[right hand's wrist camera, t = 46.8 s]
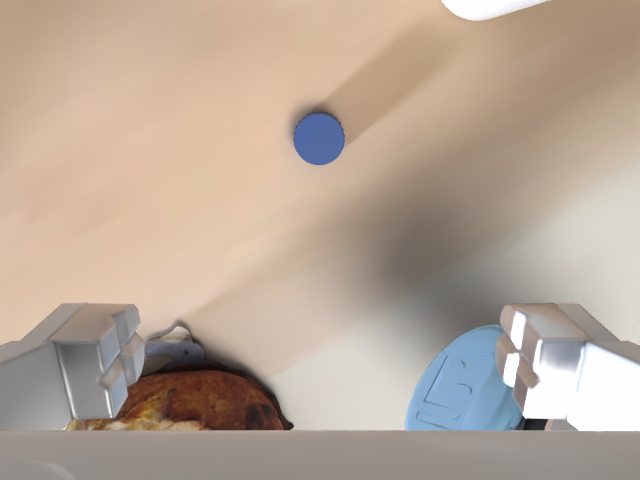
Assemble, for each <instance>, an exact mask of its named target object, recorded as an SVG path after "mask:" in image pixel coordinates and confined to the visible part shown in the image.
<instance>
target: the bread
mask: <svg viewBox="0 0 640 480" xmlns="http://www.w3.org/2000/svg"><path fill="white" fill-rule="evenodd" d="M144 349H145V352H146V355H147V357H151V356H152V355H159V356H162V354H169V355H172V357H173V358H174V362H172V363H168V364H166V365H165V366H164V367H162V368H161V369H159V370H157V371H156V372H153V373H151V374H148V375H145V376H139V378H138V380H137V382H136V383H134V384H132V385H131V386H129V387H127V393H128V397H127V399H126V400H125V402H124V404H123V405H122V407H121V409H120V410H119V412H118V414H117V415H116V417H115V418H104V419H72V422H71V423H69V425H68V427H67V429H66V430H290V429H292V428H293V427H294V425H292V424H289V423H287V422H286V420H285V419H284V418H283V416H282V414H281V410H280V406H279V403H278V401H277V399H276V398H275V397H274V396H273V395H272V394H271V393H269V392H268V391H267V390H265V389H264V388H263V387H261V386H260V385H259V384H258V383H257V382H256V381H255V380H254V379H253V378H252V377H250V376H247V375H246V373H245V372H243V371H239V370H232V369H229V368H227V367H225V366H223V365H221V364H219V363H214V362H211V361H208V360H206V359H205V358H204V355H205V352H204V349H203V348H202V347H201V346H200V345H199V344H197V343H195V344H194V343H193V341H192V339H191V334H190V333H189V331H188V330H186V329H185V328H184V327H180V326H177V327H176V328H175V329H174V330H173V331H172V332H171V333H168V334H166V335H163V336H159V337H155V338H153V339H151V340H149V341H148V343H147V344H146V346H145V348H144Z"/></svg>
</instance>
